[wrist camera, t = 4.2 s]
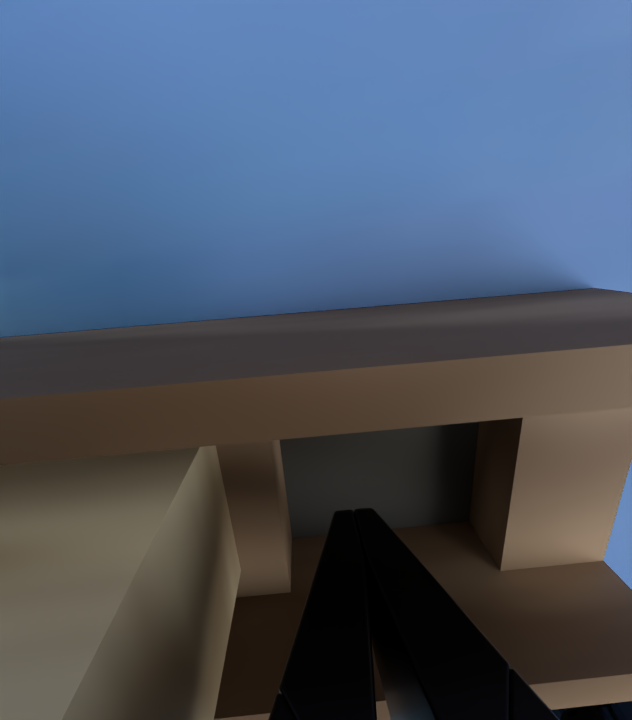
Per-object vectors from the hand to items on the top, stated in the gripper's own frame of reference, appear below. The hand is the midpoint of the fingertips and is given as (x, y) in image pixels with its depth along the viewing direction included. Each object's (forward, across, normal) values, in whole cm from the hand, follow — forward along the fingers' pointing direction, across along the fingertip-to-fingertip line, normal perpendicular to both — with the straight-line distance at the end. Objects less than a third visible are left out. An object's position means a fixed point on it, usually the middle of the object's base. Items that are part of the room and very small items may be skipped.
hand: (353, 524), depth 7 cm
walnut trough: (+3, +4, 0) cm, 5 cm away
